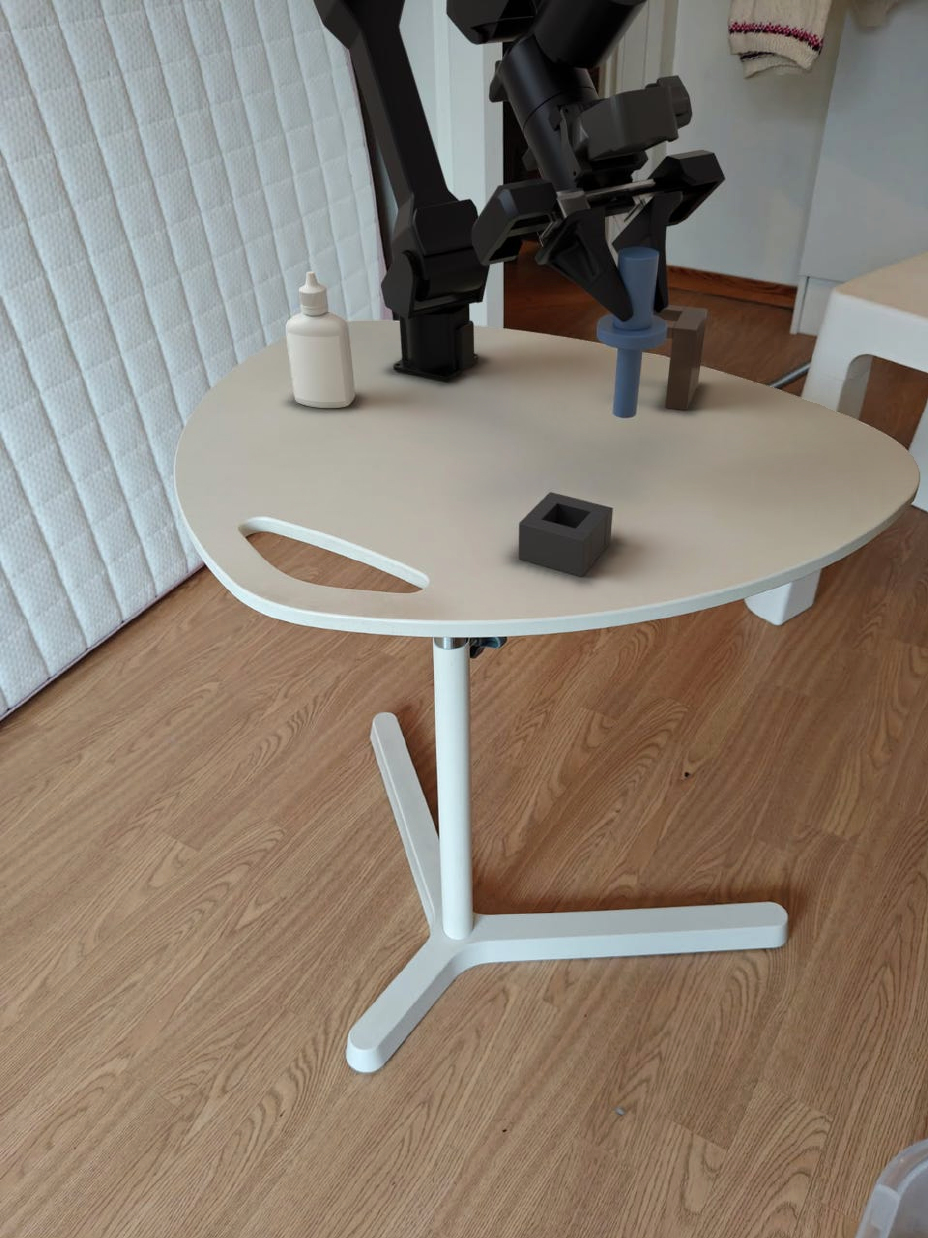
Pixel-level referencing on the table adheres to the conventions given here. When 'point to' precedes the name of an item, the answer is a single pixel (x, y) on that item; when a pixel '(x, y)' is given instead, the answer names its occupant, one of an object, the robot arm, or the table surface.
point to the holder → (565, 533)
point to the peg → (633, 326)
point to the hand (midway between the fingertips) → (645, 314)
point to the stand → (683, 353)
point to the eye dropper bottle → (319, 351)
